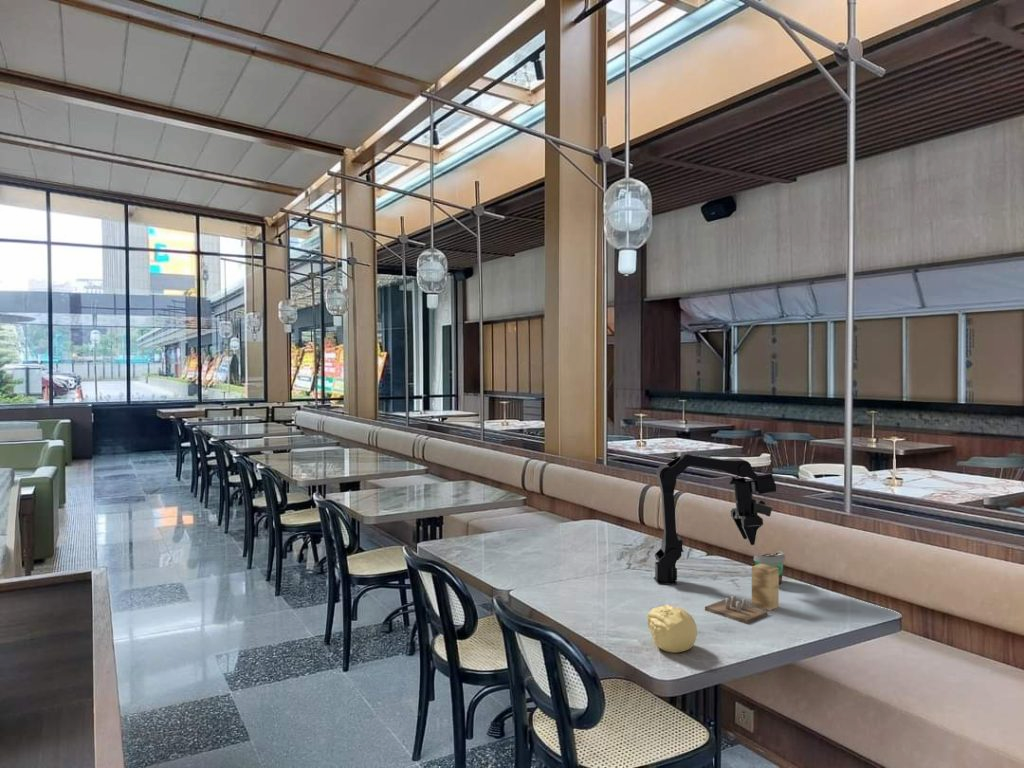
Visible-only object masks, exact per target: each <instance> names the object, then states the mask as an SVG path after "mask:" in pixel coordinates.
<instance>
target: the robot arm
mask: <svg viewBox="0 0 1024 768" xmlns="http://www.w3.org/2000/svg"><path fill="white" fill-rule="evenodd" d="M689 467H696V468H703V469H710V470H716V471H722V472H726V473H728V474H731V475H734V476H737V477H734V476H730V478H729V479H728V480H727V481H726V482H727V484H729V485H733V491H734V498H733V502H734V503H735V508H732V509H731V510H730V517H731V518H732V520H733V522H734V524H735V525H736V527H737V530H738V531H739V532H740V535H741V537H742V538H743V539H744V540H748V542H749V544H750V545H751V546H754V545H755V544H756V538H757V532H758V530H759V529H760V528H761V527H762V526H763V525H764V519H763V518H762V517H761V516H760V515H759V514H761V515H764V516H766V517H771V514H772V510H773V507H772V506H771V505H768V504H766V502H765V501H764V500H761V499H758V501H756V499H755V498H754V497H753V496H754V495H753V492H754V493H756V495H768V494H769V495H770V494H775V493H776V492H777V484H776V482H775V479H774V476H773V473H770V472H767V473H762V474H761V473H760V474H757V473H755V471H754V470H753V469H752V465H751V463H750V462H749V461H748V460H745V459H743V458H738V457H737V458H735V457H732V458H731V457H729V458H716V457H710V456H703V455H697V454H690V453H687V452H684V453H681V455H680V456H678V457H676V458H674V459H673V460H671V461H669V462H667V463H666V464H661V465H660V466H659V467H658V468H657V469H656V478H657V482H658V485H659V489H660V492H661V505H662V506H661V507H662V523H663V534H662V538H661V546H660V549H658V550H657V552H655V553H654V557H655V559H656V561H655V562H654V571H655V572H654V577H653V579H654V581H655V582H656V583H657V584H658V585H677V584H678V582H677V580H678V569H677V567H676V564H677V561H679V560H680V558H682V553H684V550H683V539H682V538H681V536H680V535H678V534H677V524H676V523H677V521H676V510H675V509H676V508H675V506H676V505H675V489H676V485H677V478H678V476H681V474H682V473H683V472H684V471H685V470H686V469H688V468H689ZM746 478H748V479H746Z"/></svg>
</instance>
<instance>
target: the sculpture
mask: <svg viewBox="0 0 1024 768" xmlns="http://www.w3.org/2000/svg"><path fill="white" fill-rule="evenodd" d="M646 616H647V617H646V618H647V627H648V629H649V631H650V634H651V637H652V641H653V643H654V644H655V646H656V647H658V648H659V649H661V650H662V651H665V652H668V653H672V654H673V653H676V654H677V653H682V652H685V651H688V650H689V649H691V648H692V647H693V646H694V645H695V643H696V640H697V636H698V629H697V628H698V627H697V624H696V621H695V619H694V618H693V615H692V614H690V613H689V612H688V611H687V610H686V609H684V608H681V607H677V606H672V605H671V604H665V605H661V606H655V607H654V608H651V610H650V611H649V612H648V613H647V615H646Z"/></svg>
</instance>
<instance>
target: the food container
mask: <svg viewBox="0 0 1024 768" xmlns="http://www.w3.org/2000/svg"><path fill="white" fill-rule="evenodd" d="M753 561H754V566H755V565H758V564H765V565H769V566H773V567H777V568H779V586H780V585H782V584H783V583H782V580H783V572H784V571H783V570H784V563H785V562H786V555H785V553H784V552H783V551H781V550H777V552H775V553H765V554H763V555H762V554H761V555H758V554H754V556H753Z"/></svg>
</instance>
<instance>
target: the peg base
mask: <svg viewBox="0 0 1024 768" xmlns="http://www.w3.org/2000/svg"><path fill="white" fill-rule="evenodd" d="M730 597H731V599H730ZM730 597H725V599H722V600H719V601H717V602H714V603H711V604H709V605H706V606H704V611H707V612H710V613H713V614H716V615H719V616H721V615H722V617H724V618H727V617H728V619H732V620H734V621H736V622H740V623H742V624H746V625H747V624H750V623H752V622H754V621H758V620H759V619H762V618H764V617H766V615H767V616H768V614H769V613H768V612H769V611H768V610H765V609H762V608H758V607H757V608H756V607H755V606H752V605H747V599H745V598H742V599H741V601H739V600H737V601H736V599H737V598H736V595H731V596H730Z"/></svg>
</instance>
